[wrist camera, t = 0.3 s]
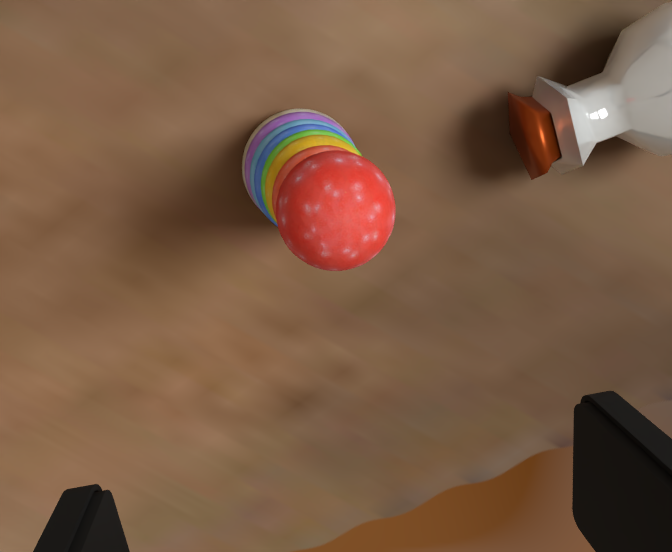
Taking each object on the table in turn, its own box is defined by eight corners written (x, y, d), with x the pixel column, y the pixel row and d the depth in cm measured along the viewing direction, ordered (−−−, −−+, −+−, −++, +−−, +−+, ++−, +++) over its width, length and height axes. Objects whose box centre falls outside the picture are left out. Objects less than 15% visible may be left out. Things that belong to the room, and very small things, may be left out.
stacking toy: (291, 245, 41) (313, 358, 23) (218, 156, 38) (180, 207, 20) (377, 178, 40) (470, 242, 22) (310, 83, 37) (353, 69, 20)
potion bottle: (693, 70, 42) (501, 145, 44) (731, -59, 34) (494, 39, 36) (777, 152, 37) (554, 233, 38) (845, 22, 29) (560, 132, 30)
